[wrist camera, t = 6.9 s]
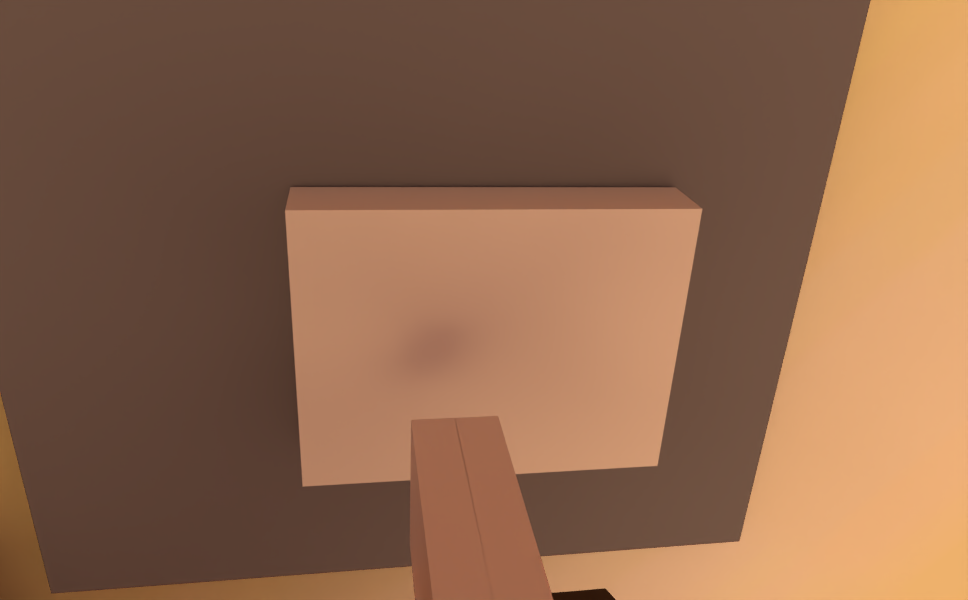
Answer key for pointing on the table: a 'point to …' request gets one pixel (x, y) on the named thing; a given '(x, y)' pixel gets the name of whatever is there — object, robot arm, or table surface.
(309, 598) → the table surface
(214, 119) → the mat
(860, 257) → the table surface
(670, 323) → the tile
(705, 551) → the table surface
